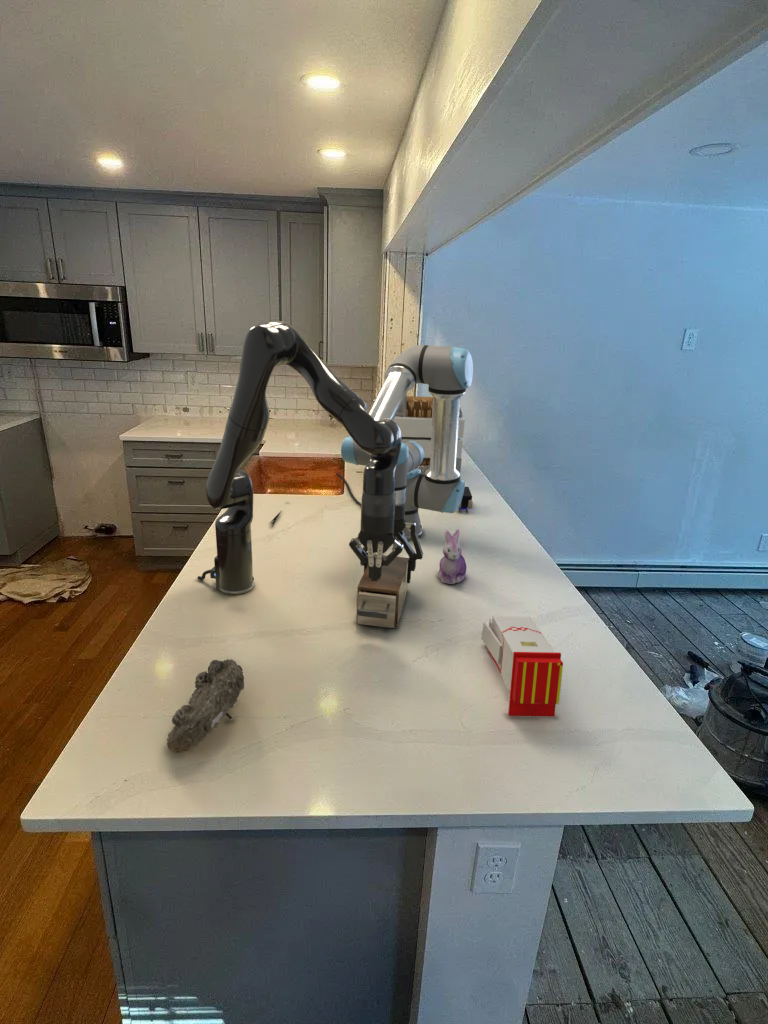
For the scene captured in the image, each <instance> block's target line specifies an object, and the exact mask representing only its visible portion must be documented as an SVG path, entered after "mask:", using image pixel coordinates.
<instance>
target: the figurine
mask: <svg viewBox="0 0 768 1024" xmlns="http://www.w3.org/2000/svg"><path fill="white" fill-rule="evenodd" d="M460 530H461V529H459V528H458V529H456V530H455V532H454V533H453V535H451V533H450V531H449V530H447V529H446V530H445V531H444V538H445V544H444V546H443V549H442V553H443V557H441V559H440V560H439V571H438V578H439V579H440V581H441V582H442V583H443V584H449V585H454V584H457V583H461V582H462V581H464V580H465V576H466V572H467V563H466V559H465V557H464V556H463V555H462V554H463V550H462V546H461V544H460V541H459V539H460V536H461V535H460V534H461V531H460Z"/></svg>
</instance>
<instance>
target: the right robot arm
mask: <svg viewBox="0 0 768 1024" xmlns="http://www.w3.org/2000/svg"><path fill="white" fill-rule="evenodd" d="M473 377H474V363H473V357H472V355H471V352H470V351H469V349H468V348H467V349H466V348H465V347H458V346H449V345H430V344H429V345H428V344H417V345H413V346H412V347H409V348H407V349H406V350H404V351H402V352H401V353H400V354H398V355H397V356H396V357H395V358H394V359H393V360H392V362H391V363H390V364H389V365H388V367H387V369H386V371H385V374H384V378H385V380H384V382H383V384H382V385H381V388H380V390H379V392H378V394H377V396H376V398H375V399H374V401H373V403H372V405H371V407H370V409H369V411H368V413H369V414H370V415H371V416H372V417H373V418H374V419H375V420H376V421H378V420H381V419H391V420H394V418H395V416H396V414H397V412H398V410H399V408H400V406H401V404H402V402H403V400H404V398H405V396H406V394H408V393H409V391H411V390H412V389H414V387H415V385H416V384H423V385H427V386H428V389H427V391H428V393H429V394H430V395H431V397H433V407H432V430H431V452H430V466H429V468H427V469H426V470H425V471H424V473H423V474H422V470H421V468H419V467H420V466H419V465H420V464H421V463H422V461H423V459H424V451H423V448H422V447H421V445H420V444H418V443H417V442H414V441H406V442H404V443H401V449H400V454H399V459H398V463H397V467H396V471H395V516H394V535H395V537H396V539H395V540H396V541H398V542H399V543H402V544H403V545H404V547H403V550H404V551H405V552H406V554H407V556H408V558H409V559H408V569H407V583H408V584H410V583H411V578H412V572H415V570H416V564H417V560H422V559H423V556H424V552H423V548H422V545H421V542H420V537H421V536H422V535H423V525H422V524H421V518H420V515H419V509H422V510H427V511H433V512H438V513H442V514H443V513H446V514H454V513H456V512H457V511H458V510H459V508H458V507H459V505H460V503H461V500H462V497H463V493H464V488H465V487H466V483H465V480H463V479H461V474H460V473H459V472H458V471H457V470H456V456H457V441H458V426H459V411H460V408H461V398H462V396H464V395H465V394H466V391H467V389H468V388H471V386H472V383H473ZM340 455H341V458H342V461H343V462H344V463H347V464H352V465H356V466H364V467H366V465H367V464H368V463H369V460H370V455H369V454H368V453H366V452H364V451H363V450H362V449H361V448H360V447H359V446H358V445H357V444H356V443H355V441H354V440H353V439H352V437H351V436H350V435H348V436H346V437H344V438H343V440H342V442H341V447H340ZM335 476H337V477H338V478H340V479H341V480H342V482H344V484H345V486H346V488H347V490H348V491H347V492H348V493H349V495H350V497H351V499H352V500H353V501H354V502H355V503H356V504H357V505H358V506H360V507H361V501H359V500H358V499H357V498H356V497H355V496H354V494H353V492H352V490H351V488H350V486H349V483H348V481H347V480H346V479H345V478H344V477H343V476H342V475H341V474H339V473H337V472H336V473H335ZM410 540H412V544H413V547H414V549H413V547H412V545H411V543H410V542H409V541H410ZM360 543H361V542H360ZM360 546H361V547H362V543H361V545H360ZM362 548H363V550H364V551H365V553H366V554H367V555H368V551H367V550H366V549H365V548H364V546H363V547H362ZM359 561H360V560H359ZM359 564H360V566H362V567H363V572H364V571H365V569H366V567H367V565H368V564H366V563H362V562H361V561H360V563H359Z"/></svg>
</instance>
